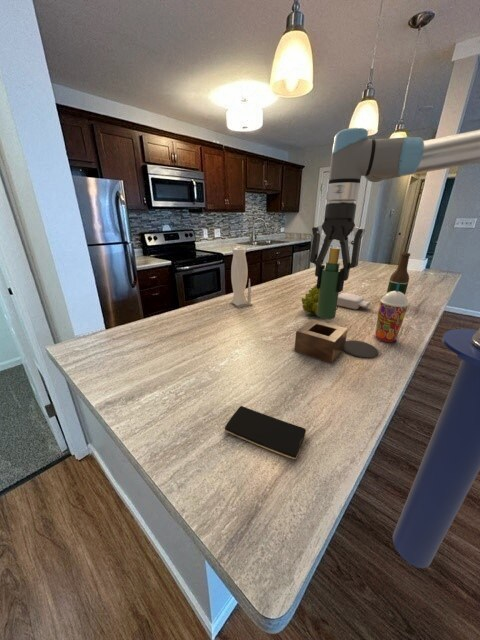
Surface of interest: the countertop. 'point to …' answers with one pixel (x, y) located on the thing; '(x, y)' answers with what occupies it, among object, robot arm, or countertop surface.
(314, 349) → the holder
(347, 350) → the coaster
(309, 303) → the vegetable
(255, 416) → the smartphone
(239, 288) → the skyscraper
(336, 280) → the bottle
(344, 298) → the charger
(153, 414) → the countertop surface
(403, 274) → the beer bottle
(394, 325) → the smoothie
